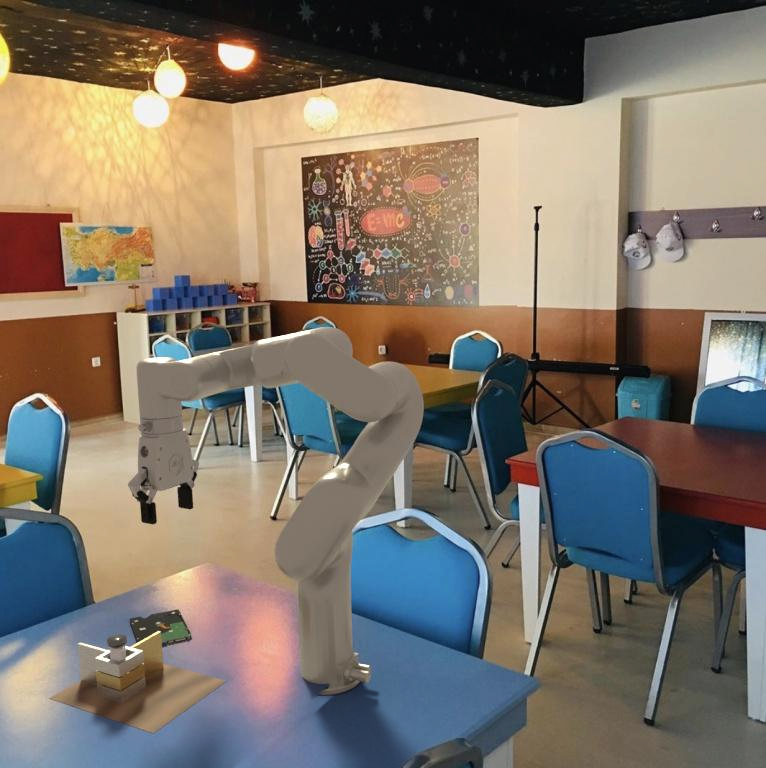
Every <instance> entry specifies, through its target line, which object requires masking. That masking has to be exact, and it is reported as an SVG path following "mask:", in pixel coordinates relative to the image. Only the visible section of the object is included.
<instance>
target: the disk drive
mask: <svg viewBox="0 0 766 768" xmlns="http://www.w3.org/2000/svg"><path fill="white" fill-rule="evenodd" d="M129 623H130V627H131V629H132V632H133V635H134V638H135V640H136V643H138V642H140V641H142V640H144V639H145V638H147V637H149V636H151V635H152V634H154V633H156V632H158V631H160V632H161V639H162V647H163V646H170V645H174V644H179V643H183V642H188V641H192V640H193V638H192V635H191V631H190V630H189V627H188V624H187V623H186V621H185V619H184V617H183V615H182V613H181V611H180V610H179V609H178V608H177V609H171V610H168V611H167V610H166V611H162V612H157V613H151V614H150V615H148V616H147V617H142V616H135V617H131V618H129Z"/></svg>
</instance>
